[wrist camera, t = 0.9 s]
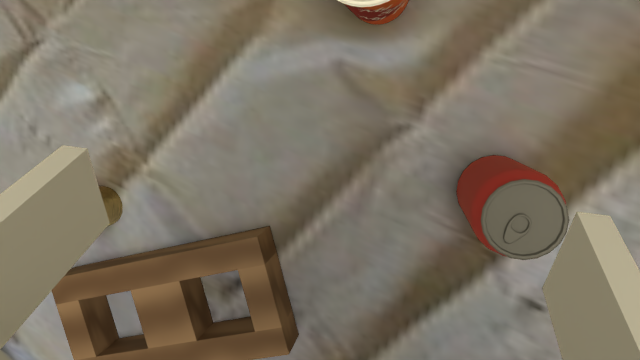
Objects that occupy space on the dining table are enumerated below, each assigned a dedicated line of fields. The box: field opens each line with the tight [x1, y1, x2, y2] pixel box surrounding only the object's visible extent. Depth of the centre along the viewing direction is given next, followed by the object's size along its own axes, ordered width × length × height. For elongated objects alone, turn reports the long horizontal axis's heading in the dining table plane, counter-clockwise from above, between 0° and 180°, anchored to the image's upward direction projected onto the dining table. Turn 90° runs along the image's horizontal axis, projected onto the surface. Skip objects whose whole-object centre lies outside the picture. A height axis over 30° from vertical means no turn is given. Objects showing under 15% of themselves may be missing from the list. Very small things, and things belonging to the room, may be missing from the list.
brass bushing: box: [99, 186, 122, 226], centre depth 46 cm, size 4×4×8 cm
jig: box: [52, 226, 299, 360], centre depth 48 cm, size 12×24×4 cm, turn 104°
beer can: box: [457, 155, 569, 260], centre depth 37 cm, size 7×7×12 cm
